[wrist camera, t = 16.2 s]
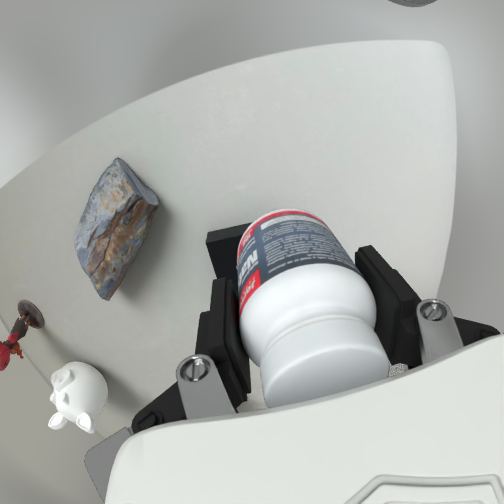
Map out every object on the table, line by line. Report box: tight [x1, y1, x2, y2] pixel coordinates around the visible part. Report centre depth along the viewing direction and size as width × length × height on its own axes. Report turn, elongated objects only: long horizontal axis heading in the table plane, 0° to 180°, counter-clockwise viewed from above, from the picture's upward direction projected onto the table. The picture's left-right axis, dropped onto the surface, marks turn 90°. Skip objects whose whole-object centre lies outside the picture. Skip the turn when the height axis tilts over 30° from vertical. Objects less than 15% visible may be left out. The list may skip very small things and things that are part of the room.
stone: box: [75, 158, 159, 301], centre depth 33 cm, size 17×5×10 cm
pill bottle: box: [237, 208, 390, 408], centre depth 12 cm, size 5×5×9 cm
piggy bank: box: [48, 362, 108, 434], centre depth 40 cm, size 12×12×15 cm
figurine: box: [0, 300, 44, 371], centre depth 34 cm, size 7×9×15 cm
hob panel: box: [206, 222, 253, 302], centre depth 37 cm, size 14×11×3 cm
